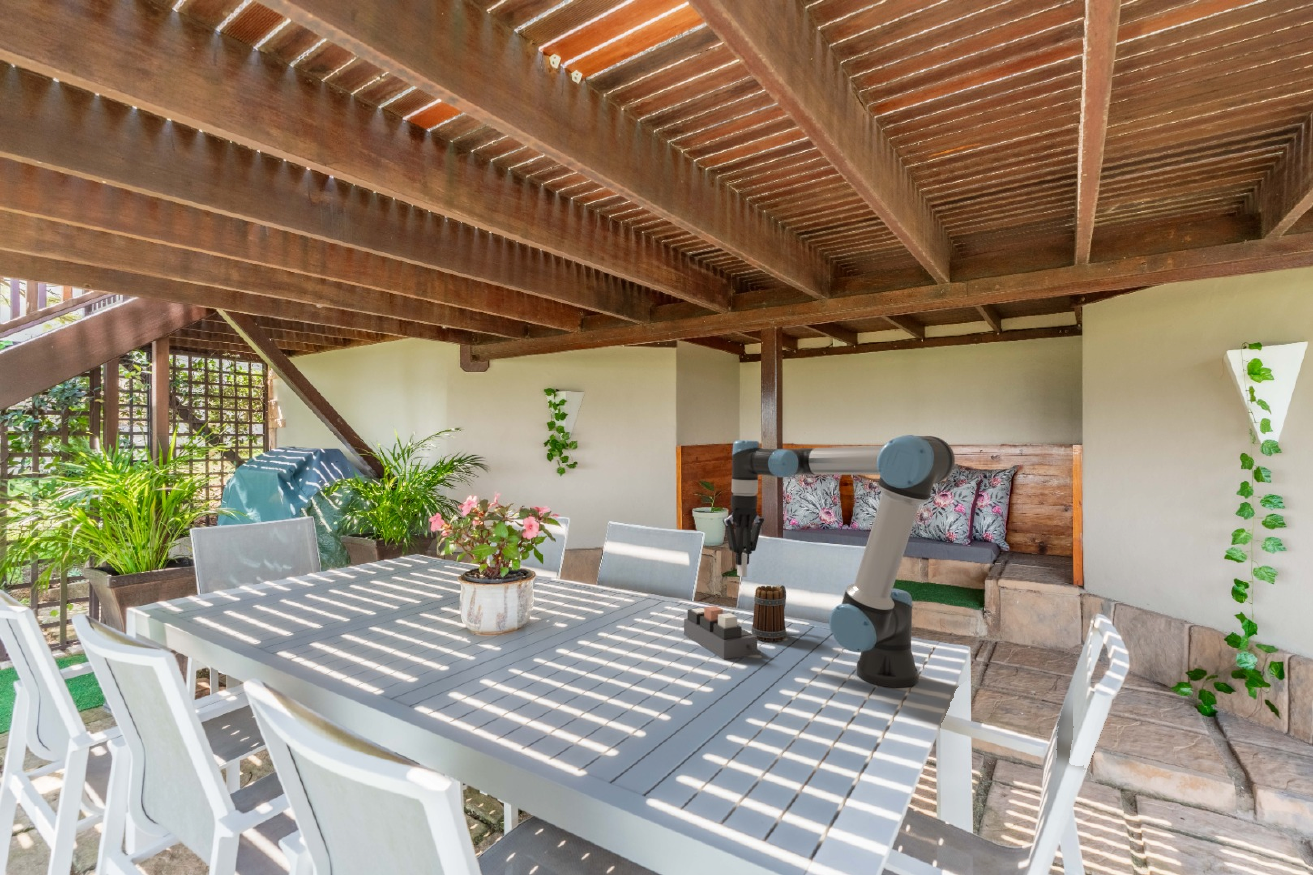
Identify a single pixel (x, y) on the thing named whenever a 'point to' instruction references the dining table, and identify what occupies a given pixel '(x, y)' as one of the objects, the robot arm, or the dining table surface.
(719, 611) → the button
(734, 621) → the button
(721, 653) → the push button switch box
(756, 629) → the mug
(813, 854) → the dining table surface
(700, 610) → the button
